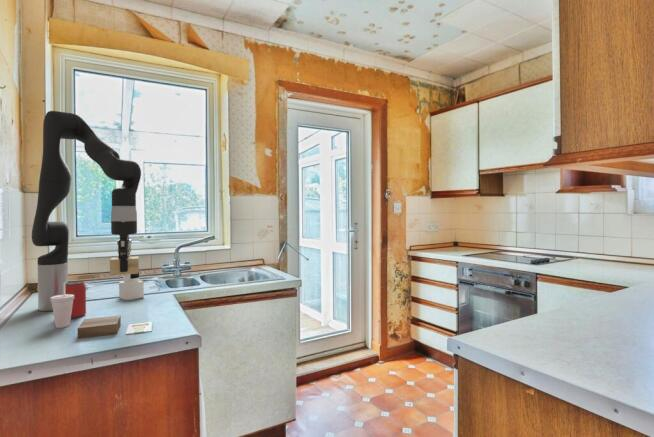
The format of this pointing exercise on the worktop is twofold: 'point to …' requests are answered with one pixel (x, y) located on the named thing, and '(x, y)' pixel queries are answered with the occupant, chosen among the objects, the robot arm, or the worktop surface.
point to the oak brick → (132, 266)
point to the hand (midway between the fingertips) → (124, 270)
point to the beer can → (77, 297)
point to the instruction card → (139, 328)
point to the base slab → (99, 326)
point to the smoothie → (62, 308)
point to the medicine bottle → (131, 287)
